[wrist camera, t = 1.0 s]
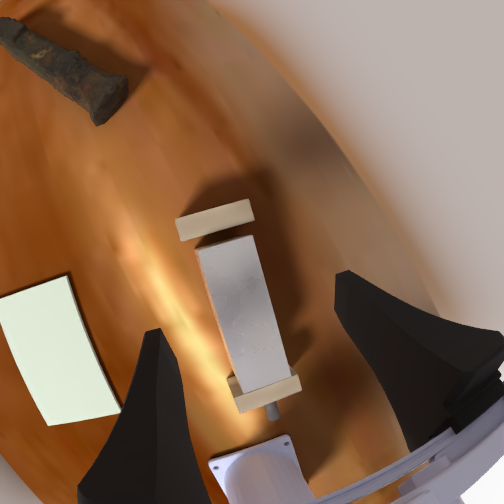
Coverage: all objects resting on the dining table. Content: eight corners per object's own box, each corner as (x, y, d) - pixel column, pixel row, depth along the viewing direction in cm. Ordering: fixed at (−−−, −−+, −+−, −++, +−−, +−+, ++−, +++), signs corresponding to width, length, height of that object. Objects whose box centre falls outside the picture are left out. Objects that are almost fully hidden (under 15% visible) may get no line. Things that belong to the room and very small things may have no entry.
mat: (122, 410, 22) (121, 412, 22) (49, 423, 21) (48, 425, 20) (67, 275, 21) (65, 275, 21) (-5, 300, 20) (-7, 301, 19)
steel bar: (271, 352, 25) (291, 376, 20) (231, 366, 25) (243, 393, 20) (237, 236, 24) (252, 234, 19) (193, 249, 24) (197, 250, 19)
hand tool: (135, 97, 22) (128, 69, 18) (102, 132, 22) (87, 110, 17) (23, 21, 19) (10, -3, 14) (-3, 48, 18) (-21, 26, 14)
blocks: (293, 395, 26) (308, 413, 22) (240, 415, 25) (249, 436, 21) (238, 204, 24) (248, 198, 21) (175, 222, 23) (174, 219, 20)
